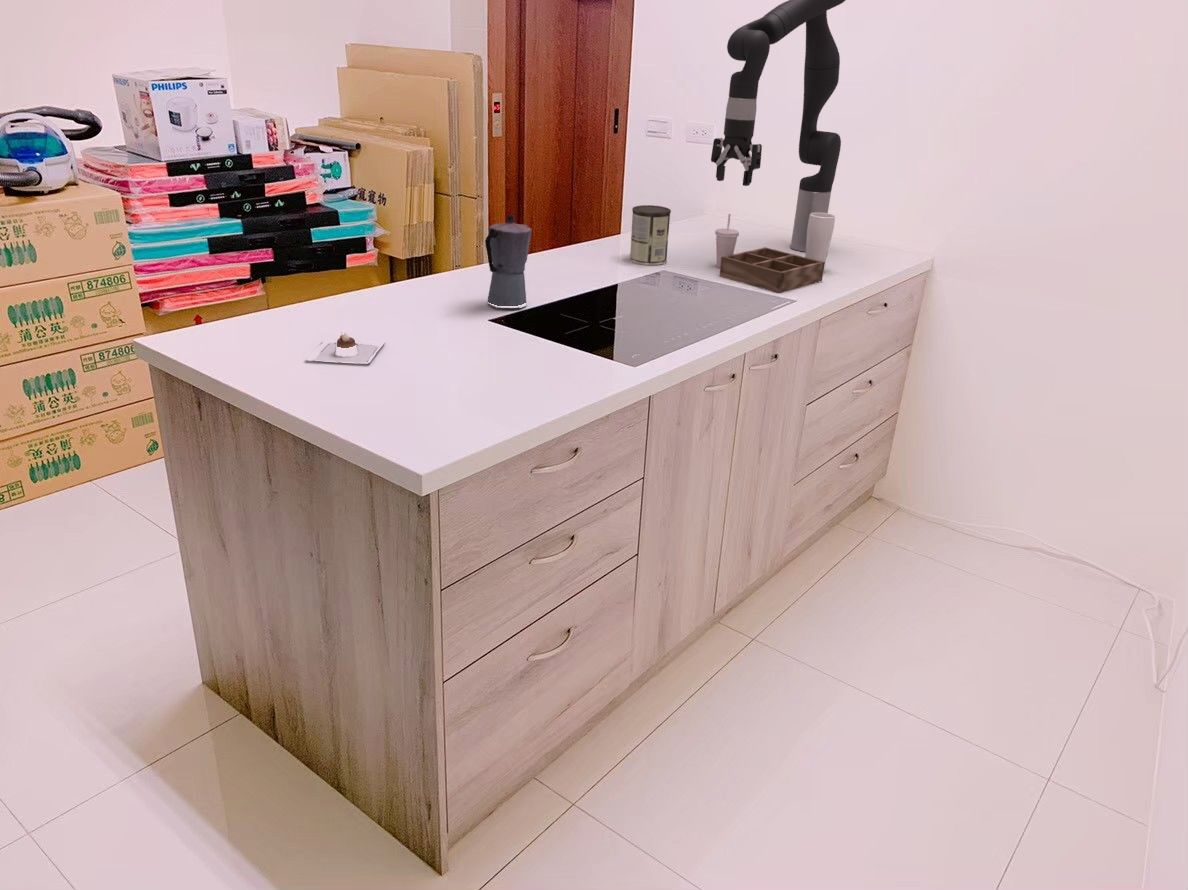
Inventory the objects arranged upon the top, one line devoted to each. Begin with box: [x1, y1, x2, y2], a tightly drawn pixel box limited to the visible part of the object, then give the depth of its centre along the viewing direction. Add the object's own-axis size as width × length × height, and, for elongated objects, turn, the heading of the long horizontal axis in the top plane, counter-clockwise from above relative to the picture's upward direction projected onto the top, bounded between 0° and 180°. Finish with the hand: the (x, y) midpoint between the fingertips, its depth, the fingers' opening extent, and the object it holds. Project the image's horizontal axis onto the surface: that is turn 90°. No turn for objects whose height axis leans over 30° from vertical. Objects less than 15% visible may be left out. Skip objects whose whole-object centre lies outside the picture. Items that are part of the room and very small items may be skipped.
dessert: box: [336, 332, 357, 348], centre depth 165 cm, size 12×12×5 cm
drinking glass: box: [804, 212, 836, 268], centre depth 234 cm, size 7×7×15 cm
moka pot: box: [484, 214, 533, 306], centre depth 192 cm, size 10×15×20 cm, turn 155°
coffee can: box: [629, 204, 672, 266], centre depth 236 cm, size 10×10×14 cm
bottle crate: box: [719, 247, 826, 294], centre depth 227 cm, size 19×19×5 cm
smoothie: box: [714, 213, 740, 269], centre depth 234 cm, size 6×6×14 cm
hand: (732, 183), depth 227 cm, fingers open, 8 cm apart
